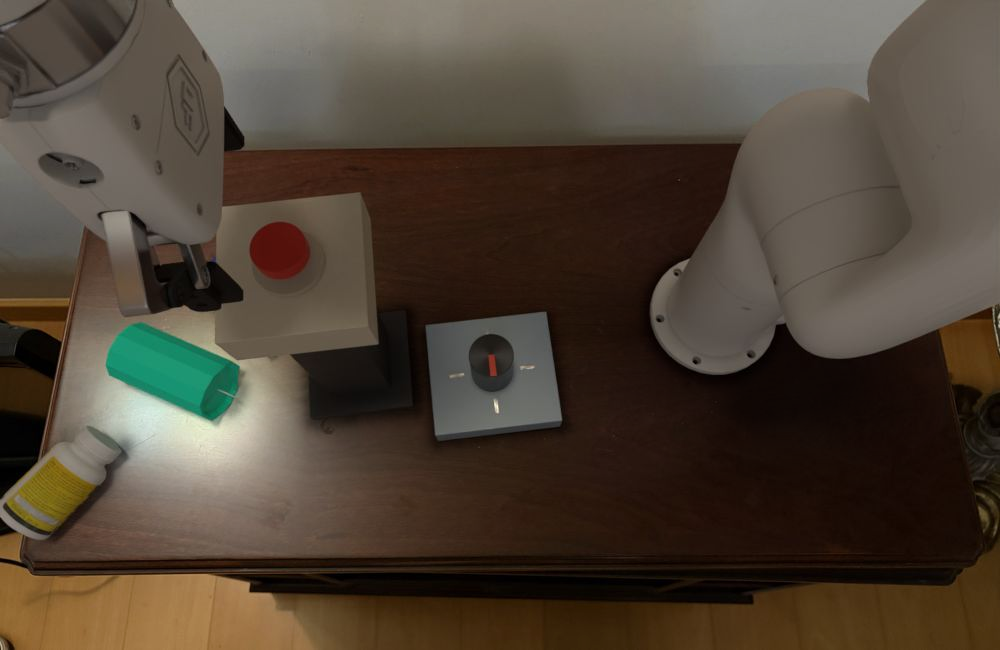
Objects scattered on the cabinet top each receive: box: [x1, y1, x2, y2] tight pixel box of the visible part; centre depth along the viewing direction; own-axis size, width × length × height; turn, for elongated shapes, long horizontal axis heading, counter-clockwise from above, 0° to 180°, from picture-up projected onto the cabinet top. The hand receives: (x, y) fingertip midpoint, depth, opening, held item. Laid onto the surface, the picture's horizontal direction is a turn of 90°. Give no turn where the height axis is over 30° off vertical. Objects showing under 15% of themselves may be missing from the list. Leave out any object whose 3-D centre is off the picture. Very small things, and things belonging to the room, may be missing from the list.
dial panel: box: [424, 311, 563, 442], centre depth 69 cm, size 12×11×3 cm
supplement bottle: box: [0, 425, 122, 541], centre depth 65 cm, size 5×5×10 cm
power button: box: [249, 222, 310, 279], centre depth 45 cm, size 4×4×1 cm
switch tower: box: [214, 191, 415, 421], centre depth 59 cm, size 10×10×26 cm
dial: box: [469, 334, 514, 392], centre depth 65 cm, size 4×4×6 cm
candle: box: [105, 321, 241, 422], centre depth 68 cm, size 6×6×12 cm
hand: (218, 220), depth 40 cm, fingers open, 9 cm apart
